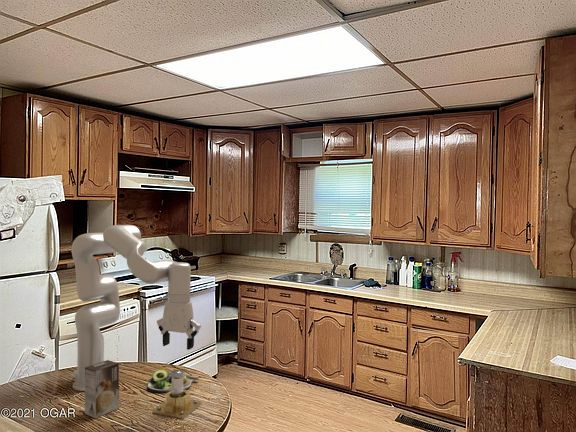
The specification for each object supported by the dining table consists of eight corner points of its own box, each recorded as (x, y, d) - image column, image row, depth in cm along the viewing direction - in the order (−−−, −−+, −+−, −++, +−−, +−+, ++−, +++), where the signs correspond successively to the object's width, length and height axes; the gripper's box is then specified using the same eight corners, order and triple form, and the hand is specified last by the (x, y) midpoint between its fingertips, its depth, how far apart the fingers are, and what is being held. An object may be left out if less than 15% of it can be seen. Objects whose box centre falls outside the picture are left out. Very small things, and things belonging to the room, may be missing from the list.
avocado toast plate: (200, 375, 184) (200, 364, 184) (196, 393, 166) (197, 381, 166) (153, 376, 182) (153, 365, 182) (144, 394, 164) (144, 382, 164)
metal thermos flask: (168, 407, 151) (169, 372, 151) (175, 402, 155) (175, 368, 155) (178, 409, 150) (179, 374, 150) (185, 404, 154) (185, 370, 154)
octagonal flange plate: (152, 413, 149) (152, 398, 149) (172, 398, 160) (172, 385, 160) (182, 419, 145) (183, 404, 145) (201, 404, 156) (201, 390, 156)
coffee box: (107, 403, 155) (108, 359, 155) (119, 408, 152) (119, 362, 152) (83, 413, 147) (84, 366, 147) (95, 419, 144) (96, 370, 144)
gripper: (151, 297, 151) (150, 346, 152) (195, 302, 146) (193, 353, 146) (164, 294, 158) (163, 340, 159) (206, 298, 153) (205, 346, 153)
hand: (178, 346), depth 152 cm, fingers open, 9 cm apart
